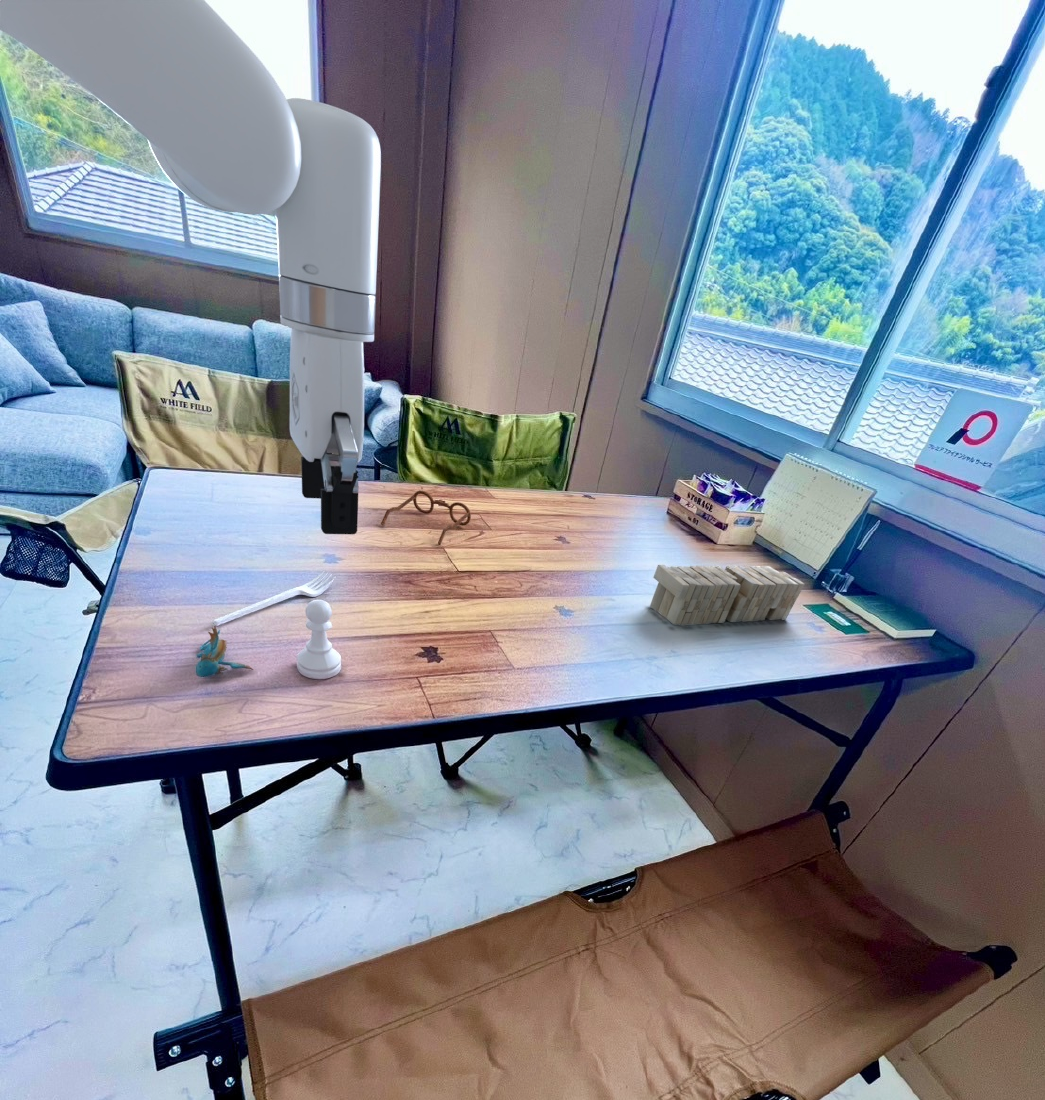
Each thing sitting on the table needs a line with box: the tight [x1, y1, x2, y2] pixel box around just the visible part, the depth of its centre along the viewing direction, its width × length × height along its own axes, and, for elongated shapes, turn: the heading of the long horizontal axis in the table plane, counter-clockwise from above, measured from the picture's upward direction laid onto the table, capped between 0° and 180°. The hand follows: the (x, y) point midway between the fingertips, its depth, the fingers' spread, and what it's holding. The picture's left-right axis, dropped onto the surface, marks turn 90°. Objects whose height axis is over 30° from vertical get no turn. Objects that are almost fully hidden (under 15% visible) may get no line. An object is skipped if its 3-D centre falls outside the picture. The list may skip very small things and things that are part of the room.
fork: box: [212, 569, 337, 627], centre depth 81 cm, size 3×20×2 cm, turn 151°
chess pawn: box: [296, 599, 342, 680], centre depth 68 cm, size 5×5×9 cm
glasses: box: [380, 490, 472, 546], centre depth 115 cm, size 13×13×5 cm
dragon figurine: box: [195, 625, 254, 678], centre depth 67 cm, size 6×7×8 cm
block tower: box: [649, 564, 805, 626], centre depth 106 cm, size 8×8×29 cm
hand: (328, 514), depth 58 cm, fingers open, 9 cm apart
